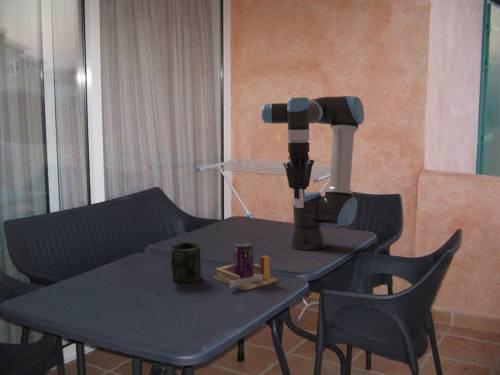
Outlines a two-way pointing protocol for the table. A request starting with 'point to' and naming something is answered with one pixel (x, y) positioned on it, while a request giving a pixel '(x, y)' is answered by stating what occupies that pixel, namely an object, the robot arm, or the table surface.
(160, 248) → the table surface
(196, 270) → the mug
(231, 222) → the table surface
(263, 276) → the lock bar
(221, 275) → the wooden tray
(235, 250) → the beverage can
